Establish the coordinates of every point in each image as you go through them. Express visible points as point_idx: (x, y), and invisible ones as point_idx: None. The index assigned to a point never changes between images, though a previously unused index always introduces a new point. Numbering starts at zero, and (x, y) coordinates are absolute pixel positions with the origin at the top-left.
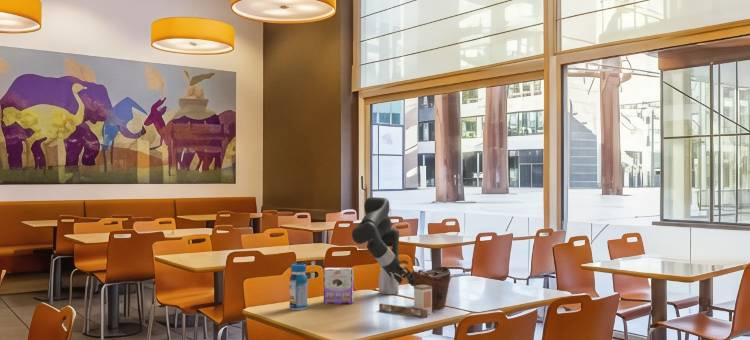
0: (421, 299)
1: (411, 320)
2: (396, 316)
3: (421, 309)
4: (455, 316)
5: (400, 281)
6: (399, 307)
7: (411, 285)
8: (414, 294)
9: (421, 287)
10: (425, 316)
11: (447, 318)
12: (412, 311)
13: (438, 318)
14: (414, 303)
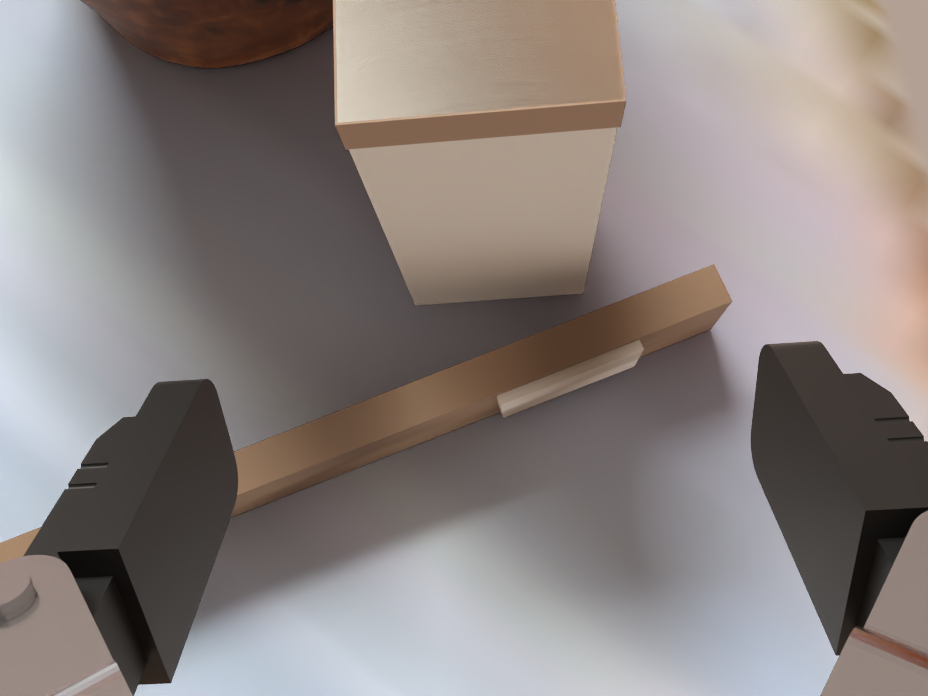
0: (570, 211)
1: (762, 615)
2: (435, 636)
3: (648, 323)
4: (857, 6)
5: (220, 464)
6: (293, 475)
7: (769, 480)
8: (379, 201)
9: (589, 105)
10: (702, 330)
11: (903, 146)
12: (521, 404)
13: (846, 237)
14: (402, 259)
